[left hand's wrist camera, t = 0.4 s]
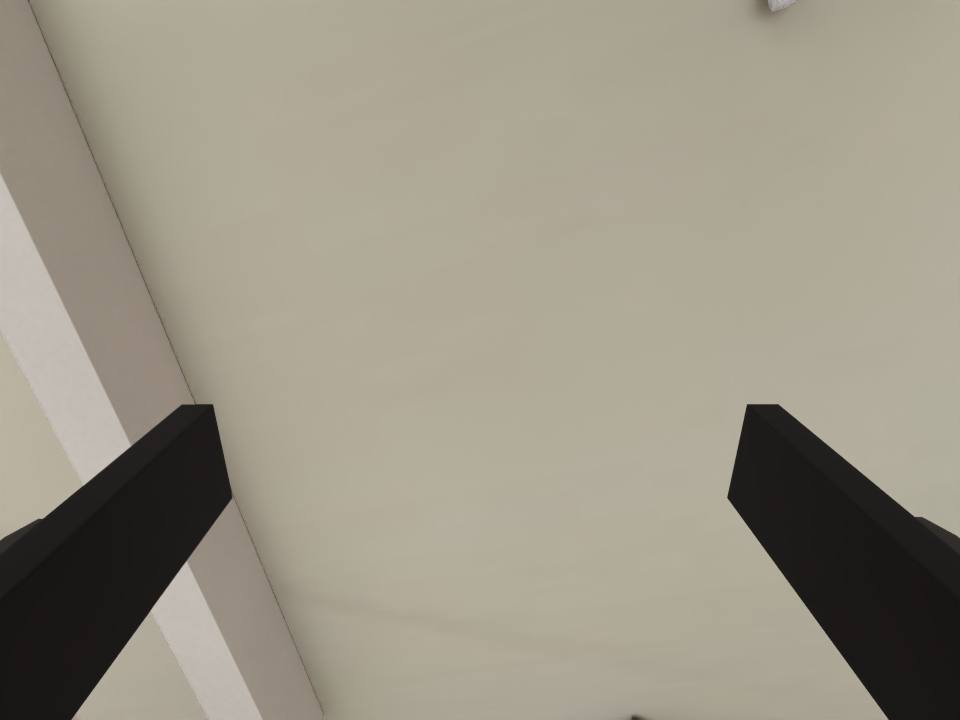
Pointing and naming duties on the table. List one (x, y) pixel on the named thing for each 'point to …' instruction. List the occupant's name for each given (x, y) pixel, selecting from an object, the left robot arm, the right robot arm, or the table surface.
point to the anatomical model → (779, 4)
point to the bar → (120, 377)
